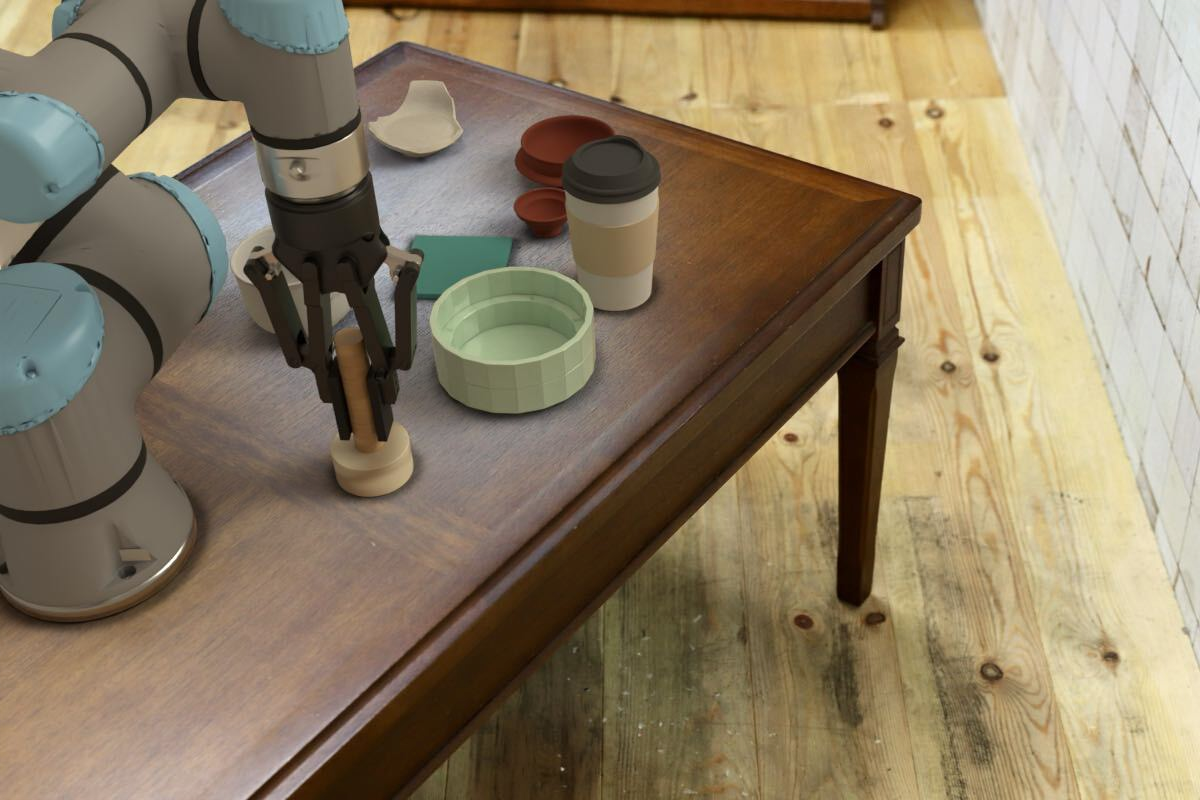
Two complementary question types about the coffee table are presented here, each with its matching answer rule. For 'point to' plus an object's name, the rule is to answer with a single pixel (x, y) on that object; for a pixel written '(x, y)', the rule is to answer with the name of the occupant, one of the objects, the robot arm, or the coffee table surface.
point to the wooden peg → (366, 430)
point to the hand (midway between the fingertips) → (367, 429)
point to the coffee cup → (613, 219)
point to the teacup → (253, 296)
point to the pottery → (551, 167)
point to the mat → (457, 260)
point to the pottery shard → (419, 121)
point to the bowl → (513, 339)
